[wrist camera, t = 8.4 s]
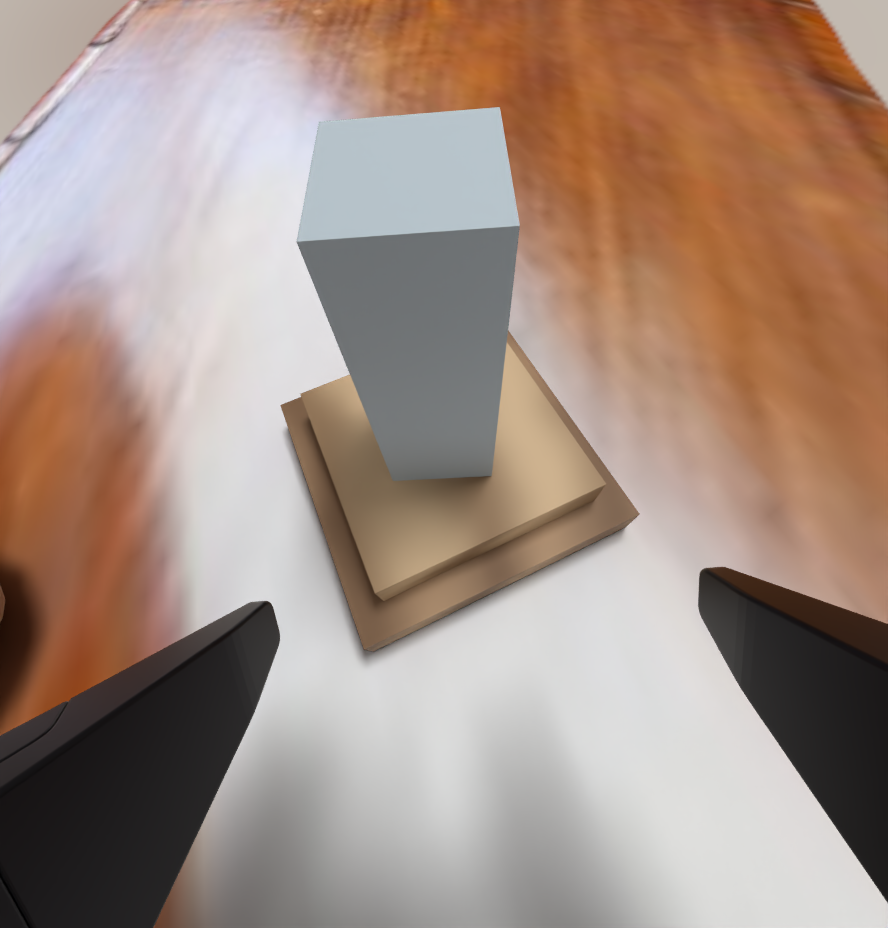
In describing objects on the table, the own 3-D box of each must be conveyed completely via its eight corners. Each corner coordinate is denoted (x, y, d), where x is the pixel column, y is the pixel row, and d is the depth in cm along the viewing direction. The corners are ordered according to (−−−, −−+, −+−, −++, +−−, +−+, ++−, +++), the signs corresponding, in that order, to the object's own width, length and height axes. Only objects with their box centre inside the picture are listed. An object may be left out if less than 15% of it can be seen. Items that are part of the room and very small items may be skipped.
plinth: (373, 651, 20) (352, 647, 16) (293, 423, 26) (265, 383, 22) (625, 526, 22) (656, 498, 18) (498, 341, 28) (502, 292, 24)
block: (491, 476, 19) (519, 225, 8) (392, 480, 19) (296, 241, 9) (484, 394, 21) (499, 107, 10) (395, 399, 21) (319, 122, 11)
